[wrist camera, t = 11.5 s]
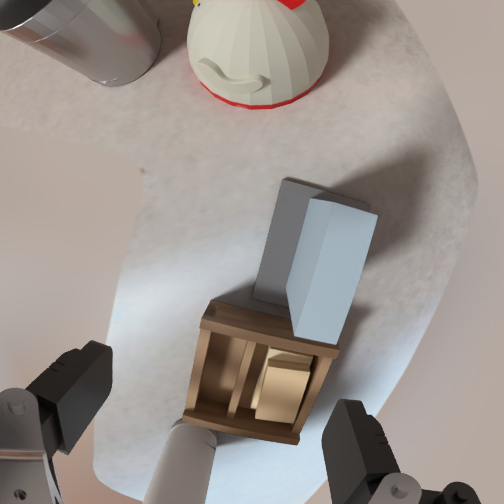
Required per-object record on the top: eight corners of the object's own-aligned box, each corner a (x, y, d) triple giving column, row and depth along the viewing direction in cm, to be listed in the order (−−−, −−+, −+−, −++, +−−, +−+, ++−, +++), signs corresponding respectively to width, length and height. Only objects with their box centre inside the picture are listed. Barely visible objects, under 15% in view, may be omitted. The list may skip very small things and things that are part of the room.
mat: (282, 179, 30) (282, 179, 29) (369, 204, 30) (370, 204, 29) (252, 296, 32) (251, 298, 32) (335, 315, 32) (336, 317, 32)
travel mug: (226, 428, 36) (203, 561, 16) (207, 454, 37) (179, 573, 17) (182, 408, 35) (133, 537, 16) (166, 436, 37) (120, 552, 17)
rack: (210, 299, 32) (201, 318, 28) (330, 328, 32) (340, 350, 28) (191, 395, 35) (181, 421, 30) (294, 418, 35) (297, 445, 30)
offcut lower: (270, 341, 32) (270, 348, 30) (311, 350, 32) (312, 357, 30) (251, 399, 33) (250, 407, 32) (289, 406, 33) (289, 415, 32)
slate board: (310, 198, 29) (333, 202, 19) (339, 206, 29) (378, 215, 19) (285, 287, 31) (294, 336, 20) (314, 294, 31) (336, 344, 20)
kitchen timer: (225, -12, 26) (203, -100, 11) (342, 25, 26) (381, -59, 12) (171, 86, 29) (105, 21, 14) (297, 130, 29) (323, 79, 14)
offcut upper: (268, 358, 31) (268, 366, 29) (308, 364, 31) (310, 372, 29) (255, 409, 32) (255, 418, 30) (292, 414, 32) (293, 423, 30)
